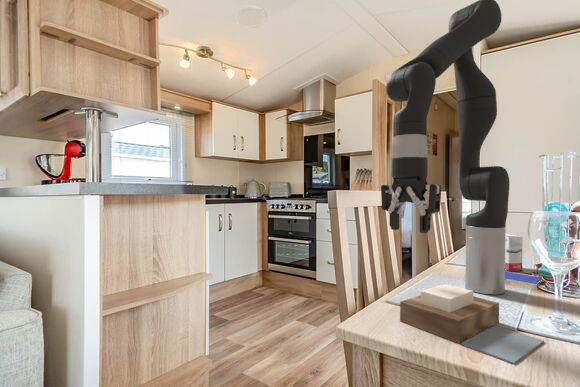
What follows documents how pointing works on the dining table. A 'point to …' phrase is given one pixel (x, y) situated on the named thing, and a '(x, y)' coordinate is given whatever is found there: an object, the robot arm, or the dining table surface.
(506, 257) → the ink box
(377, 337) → the dining table surface
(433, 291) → the cream foam brick
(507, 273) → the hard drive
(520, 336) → the mat
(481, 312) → the brown wooden block
